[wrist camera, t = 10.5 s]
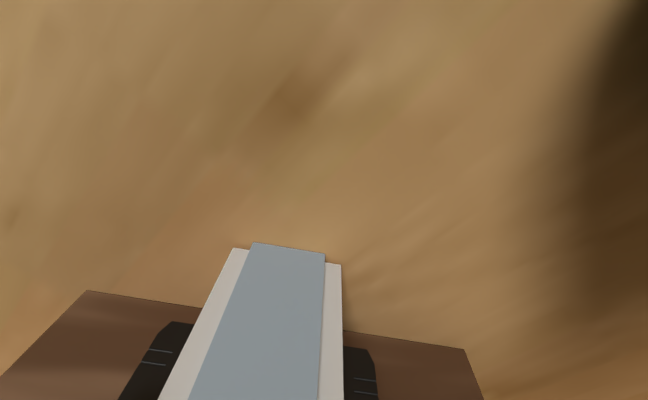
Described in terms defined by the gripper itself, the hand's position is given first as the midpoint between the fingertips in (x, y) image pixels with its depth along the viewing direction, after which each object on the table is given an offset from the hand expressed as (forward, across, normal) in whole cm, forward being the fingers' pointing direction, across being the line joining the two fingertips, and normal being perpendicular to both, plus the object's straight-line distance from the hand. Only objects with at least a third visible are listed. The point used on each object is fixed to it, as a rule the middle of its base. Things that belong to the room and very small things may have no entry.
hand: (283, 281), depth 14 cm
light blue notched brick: (0, 0, -4) cm, 4 cm away
